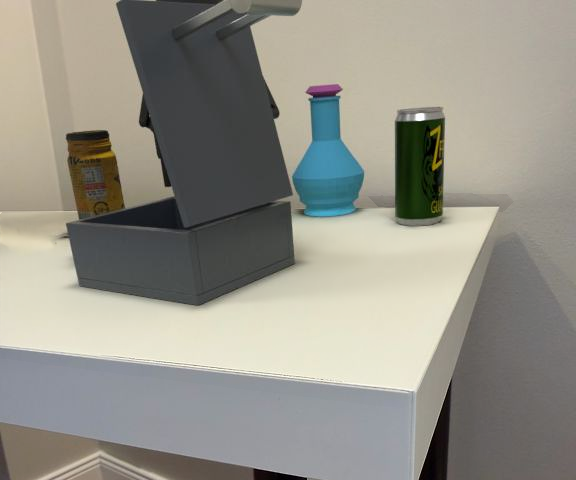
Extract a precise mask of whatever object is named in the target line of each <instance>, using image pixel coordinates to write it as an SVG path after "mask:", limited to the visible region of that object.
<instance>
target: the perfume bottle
mask: <svg viewBox="0 0 576 480" xmlns="http://www.w3.org/2000/svg"><path fill="white" fill-rule="evenodd" d="M342 91H344V88H342V86H341V85H340V84H338V83H335V84H333V83H332V84H322V85H321V84H320V85H312V86H308V88H307V89H306V90H305V92H304V93H305V94H307V95H309V96H311V97H308V98H307V100H308V102H309V107H310V109H309V110H310V124H311V125H310V126H311V142H310V144H309V146H308V148H306V149H307V150H306V151H305V152H304V154H303V157H302V159H301V160H300V161H299V163H298V165H297V167H296V168H295V170H294V172H293V173H292V176H291V179H292V184H293V187H294V190H295V192H296V194H297V196H298V197H299V202H300V203H301V204H302V205H304V206H305V208H304V212H303V213H304V215H306V216H311V217H336V216H337V217H338V216H344V215H348V214H351V213H354V212H356V206H355V205H354V202H356V201H357V199H359V195H360V191H361V189H362V187H363V183H364V179H365V170H364V168H363V167H362V165H361V164H360V163H359V162H358V160H357V158H355V156H354V155H353V154H352V153H351V151H350V150H349V148H348V147H347V146H346V144H345V142H344V141H343V139H342V137H341V115H340V114H341V113H340V111H341V110H340V99H341V95H337V94H339V93H341V92H342Z"/></svg>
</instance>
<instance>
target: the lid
mask: <svg viewBox="0 0 576 480" xmlns="http://www.w3.org/2000/svg"><path fill="white" fill-rule="evenodd" d="M302 4H303V0H224V1H222V2H221V3H219V4H217V5H214V4H197V3H180V2H163V1H156V0H118V1H117V2H116V3H115V7H116V10H117V14H118V16H119V19H120V23H121V26H122V29H123V33H124V36H125V39H126V42H127V45H128V49H129V52H130V55H131V58H132V62H133V65H134V69H135V71H136V74H137V78H138V82H139V85H140V88H141V90H142V96H143V95H144V98H145V101H146V105H147V108H148V111H149V114H150V115H149V116H150V118H151V121H152V124H153V127H154V131H155V134H156V137H157V140H158V144H159V147H160V150H161V154H162V157H163V160H164V163H165V167H166V170H167V173H168V176H169V180H170V183H171V186H172V187H171V190H172V193H173V195H174V196H173V197H175V199H176V203H177V206H178V209H179V212H180V216H181V219H182V222H183V225H184V227H185V228H186V227H189V226H193V225H196V224H200V223H203V222H206V221H210V220H213V219H216V218H220V217H223V216H226V215H230V214H233V213H236V212H240V211H243V210H246V209H250V208H253V207H256V206H259V205H263V204H266V203H269V202H273V201H280V200H283V199H286V198H289V197H292V196H294V193H293V188H292V184H291V180H290V177H289V173H288V169H287V166H286V165H287V164H286V161H285V157H284V153H283V150H282V145H281V141H280V137H279V133H278V129H277V125H276V121H275V119H274V118H273V114H272V110H271V106H270V102H269V98H268V94H267V90H266V86H265V82H264V79H265V77H264V75H263V71H262V67H261V64H260V59H259V55H258V52H257V47H256V43H255V39H254V36H253V32H252V28H251V26H253V25H256V24H258V23H259V22H261V21H264V20H266V19H268V18H269V17H271V16H276V17H277V16H278V17H279V16H280V17H295V16H296V15H297V14H298V13H299V12H300V10H301V8H302V6H303V5H302ZM263 77H264V78H263Z"/></svg>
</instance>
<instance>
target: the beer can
mask: <svg viewBox="0 0 576 480" xmlns="http://www.w3.org/2000/svg"><path fill="white" fill-rule="evenodd" d="M396 114H397V115H396V117H395V120H394V217H395V219H396V222H397V223H398V224H399V225H403V226H412V227H415V226H416V227H418V226H430V225H435V224H438V223H439V222H441V219H442V217H443V214H444V183H445V182H444V181H445V180H444V178H445V177H444V174H445V142H446V141H445V140H446V139H445V137H446V136H445V135H446V134H445V133H446V115H445V114H444V106H426V107H425V106H424V107H411V108H403V109H397V110H396Z"/></svg>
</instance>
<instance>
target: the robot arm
mask: <svg viewBox="0 0 576 480" xmlns="http://www.w3.org/2000/svg"><path fill="white" fill-rule="evenodd" d="M155 1H163V2H180V3H197V4H214V5H217V4H219V3H221V2H222V1H224V0H155ZM263 78H264V82H265V86H266V90H267V94H268V98H269V102H270V106H271V110H272V114H273V118H274V120H276V119H278V118H279V117H280V109H279V107H278V105H277V103H276V101H275V99H274V98H275V97H274V96H273V94H272V92H271V90H270V88H269V86H268V84H267V83H268V82H267V81H266V80H265V77H264V76H263ZM138 125H139V126H140V127H141V128H146V129H149V131H151V132H152V134H153V138H154V145H155V150H156V151H155V152H156V156H157V158H158V160H160V165H161V172H162V180H163V185H164V188H172V186H171V183H170V180H169V176H168V173H167V170H166V167H165V163H164V160H163V157H162V154H161V150H160V147H159V144H158V140H157V137H156V134H155V131H154V127H153V124H152V121H151V118H150V114H149V111H148V108H147V105H146V101H145V98H144V95H143V94H142V97H141V102H140V110H139V115H138Z"/></svg>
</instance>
